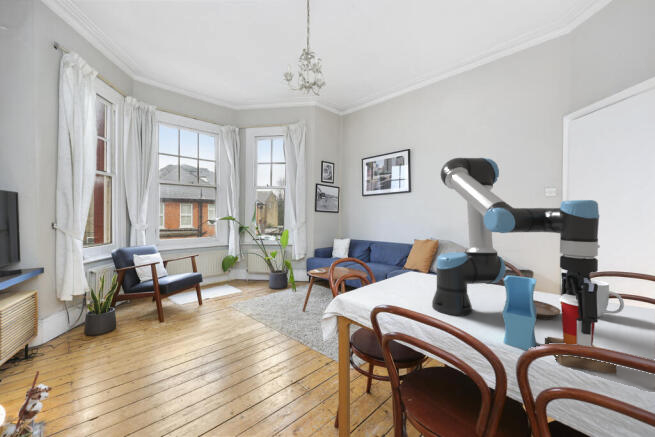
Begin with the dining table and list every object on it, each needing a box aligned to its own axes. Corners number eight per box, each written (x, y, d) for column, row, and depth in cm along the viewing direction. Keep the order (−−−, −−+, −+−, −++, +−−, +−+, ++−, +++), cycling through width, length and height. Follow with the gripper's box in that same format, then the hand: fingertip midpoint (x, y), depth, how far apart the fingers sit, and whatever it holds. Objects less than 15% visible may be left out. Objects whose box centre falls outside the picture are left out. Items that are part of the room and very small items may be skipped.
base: (560, 364, 69) (561, 353, 69) (544, 345, 80) (544, 335, 80) (616, 374, 65) (616, 362, 65) (591, 352, 76) (591, 342, 75)
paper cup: (592, 345, 74) (592, 296, 73) (601, 358, 67) (602, 304, 67) (555, 338, 78) (556, 291, 78) (561, 349, 71) (562, 298, 71)
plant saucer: (572, 323, 96) (572, 315, 96) (519, 320, 99) (519, 312, 99) (542, 306, 113) (542, 299, 113) (497, 304, 117) (497, 297, 116)
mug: (626, 318, 99) (627, 284, 99) (620, 325, 93) (621, 289, 93) (574, 307, 111) (574, 276, 111) (565, 312, 105) (565, 280, 105)
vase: (502, 343, 81) (503, 279, 80) (506, 334, 87) (506, 274, 86) (534, 352, 76) (535, 284, 75) (536, 342, 82) (537, 278, 81)
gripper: (619, 263, 62) (617, 359, 62) (577, 251, 80) (576, 326, 80) (578, 261, 64) (577, 353, 65) (547, 250, 82) (546, 322, 83)
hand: (576, 338), depth 72 cm, fingers closed on paper cup, 6 cm apart
